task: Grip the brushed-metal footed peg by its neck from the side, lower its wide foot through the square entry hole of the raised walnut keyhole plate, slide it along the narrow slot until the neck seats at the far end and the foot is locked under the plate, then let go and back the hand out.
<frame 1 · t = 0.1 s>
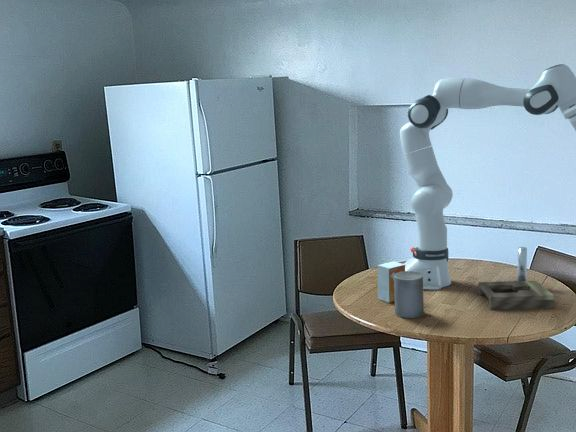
footed peg: (521, 286, 239), on the table
pillar candle: (408, 314, 216), on the table
small box: (391, 299, 232), on the table
keyhole plate: (514, 300, 224), on the table
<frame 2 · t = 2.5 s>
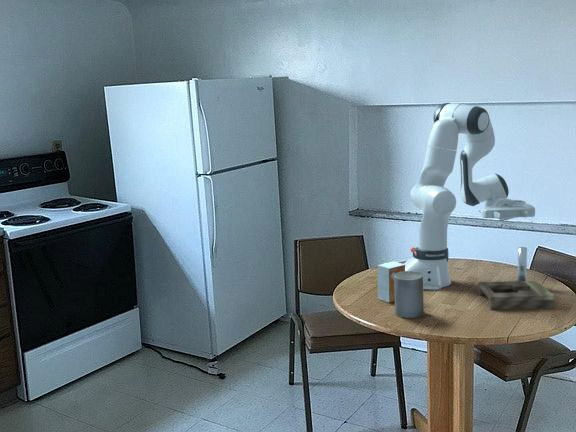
hand: (513, 215, 246), 25 cm above the table, tool horizontal, fingers open, 8 cm apart
nothing on the table moved.
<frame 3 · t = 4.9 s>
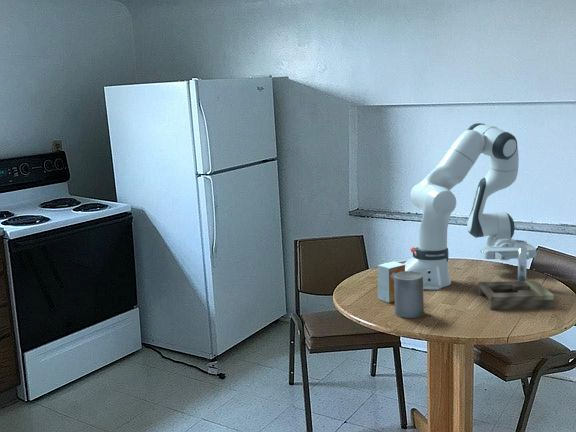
hand: (515, 257, 246), 9 cm above the table, tool horizontal, fingers open, 8 cm apart
nothing on the table moved.
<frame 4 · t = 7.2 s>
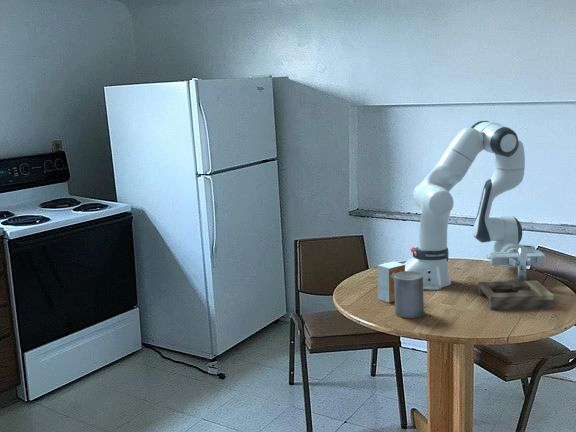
hand: (523, 263, 236), 9 cm above the table, tool horizontal, fingers closed on footed peg, 3 cm apart
footed peg: (521, 286, 239), on the table, touching gripper
everything else where it was.
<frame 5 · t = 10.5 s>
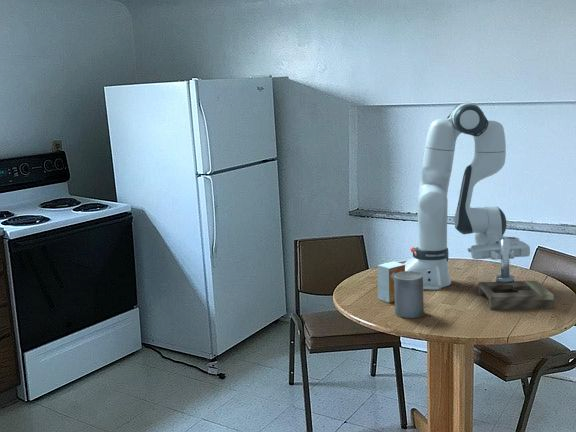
hand: (505, 256, 220), 16 cm above the table, tool horizontal, fingers closed on footed peg, 3 cm apart
footed peg: (505, 280, 222), point 7 cm above the table, touching gripper
everything else where it was.
when the fingers open (10 cm above the table, at t = 13.7 s): footed peg stays where it is, resting in keyhole plate.
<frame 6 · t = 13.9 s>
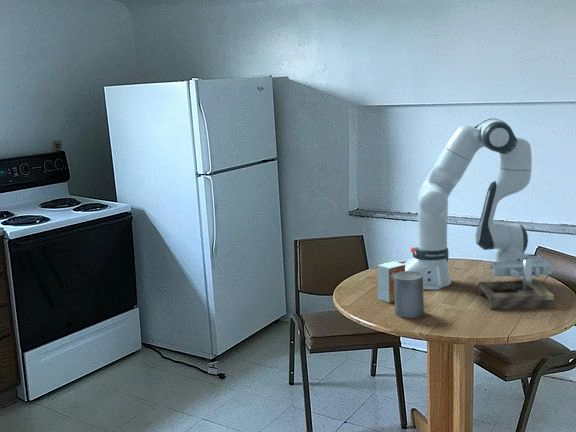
hand: (528, 274, 221), 10 cm above the table, tool horizontal, fingers open, 5 cm apart
footed peg: (526, 300, 224), resting in keyhole plate
everything else where it was.
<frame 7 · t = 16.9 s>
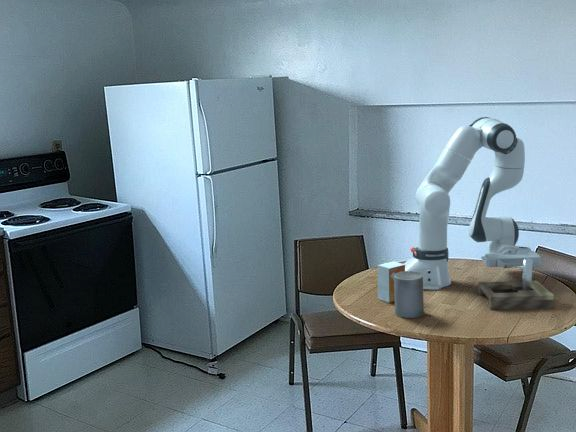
hand: (518, 265, 232), 10 cm above the table, tool horizontal, fingers open, 8 cm apart
nothing on the table moved.
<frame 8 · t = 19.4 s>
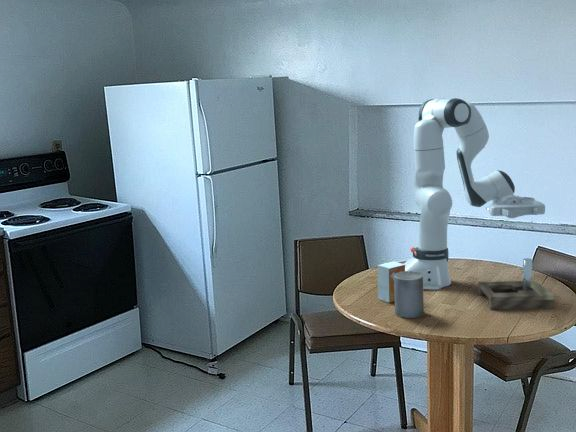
hand: (522, 213, 235), 28 cm above the table, tool horizontal, fingers open, 8 cm apart
nothing on the table moved.
at the end: footed peg 0.2 cm from the target spot on the keyhole plate, point 0.0 cm above the keyhole plate's base; footed peg tilted 0°; the gripper is holding nothing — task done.
